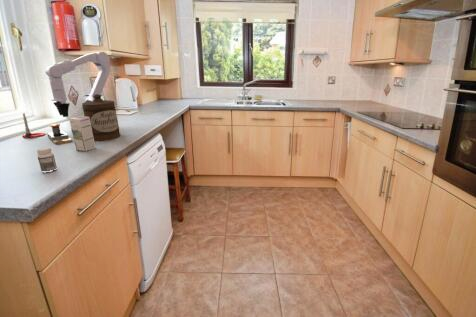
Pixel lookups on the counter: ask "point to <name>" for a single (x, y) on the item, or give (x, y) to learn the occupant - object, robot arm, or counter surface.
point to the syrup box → (82, 133)
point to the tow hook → (28, 134)
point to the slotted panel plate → (59, 138)
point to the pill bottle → (46, 159)
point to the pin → (56, 129)
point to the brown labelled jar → (102, 118)
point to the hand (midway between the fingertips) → (64, 115)
